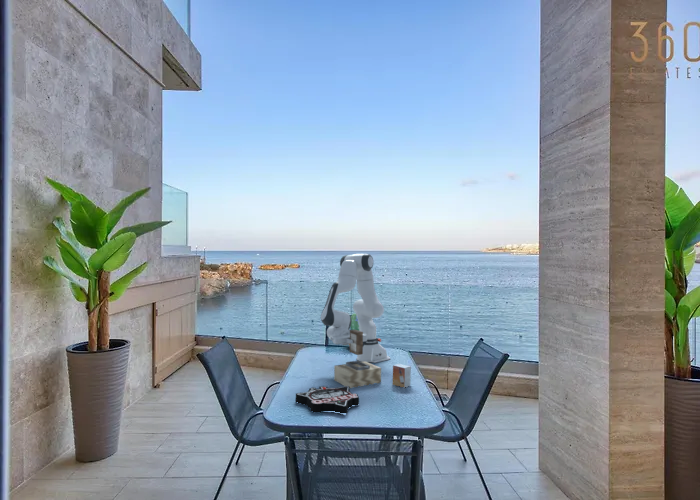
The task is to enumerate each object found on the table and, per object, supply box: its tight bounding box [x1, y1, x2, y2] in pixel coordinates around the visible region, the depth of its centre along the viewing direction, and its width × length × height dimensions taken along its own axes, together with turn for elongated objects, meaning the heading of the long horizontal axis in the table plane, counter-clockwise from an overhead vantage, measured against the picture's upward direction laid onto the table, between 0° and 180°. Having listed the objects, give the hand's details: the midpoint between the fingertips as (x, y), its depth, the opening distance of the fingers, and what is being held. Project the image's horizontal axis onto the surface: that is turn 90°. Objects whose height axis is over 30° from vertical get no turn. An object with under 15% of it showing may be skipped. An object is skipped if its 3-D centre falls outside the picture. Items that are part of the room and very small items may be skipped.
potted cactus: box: [348, 312, 359, 346], centre depth 322 cm, size 15×15×25 cm
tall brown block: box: [349, 329, 363, 356], centre depth 237 cm, size 4×8×12 cm, turn 30°
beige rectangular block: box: [333, 360, 382, 389], centre depth 237 cm, size 20×16×10 cm
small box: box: [392, 363, 412, 389], centre depth 231 cm, size 8×6×10 cm
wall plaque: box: [295, 385, 360, 414], centre depth 201 cm, size 28×4×30 cm
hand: (357, 341), depth 237 cm, fingers closed on tall brown block, 4 cm apart
